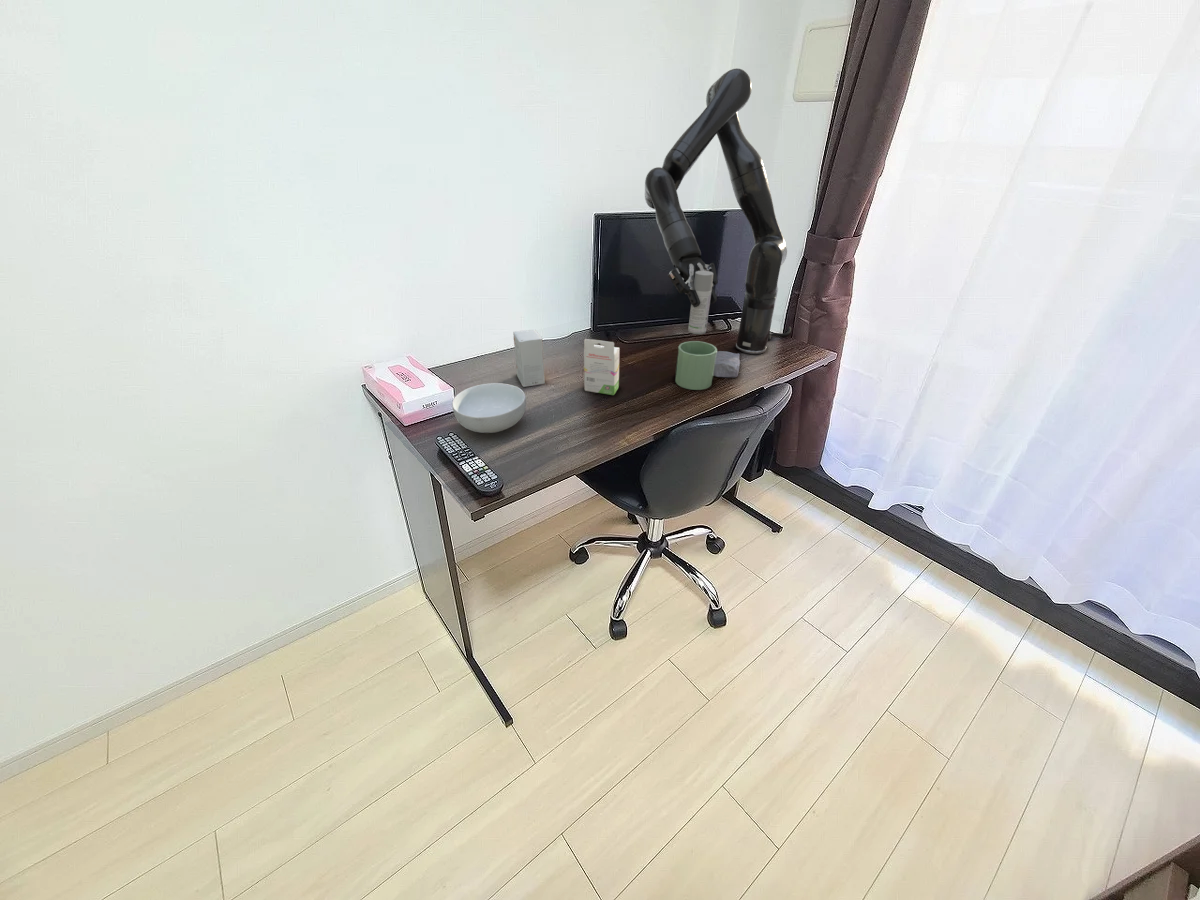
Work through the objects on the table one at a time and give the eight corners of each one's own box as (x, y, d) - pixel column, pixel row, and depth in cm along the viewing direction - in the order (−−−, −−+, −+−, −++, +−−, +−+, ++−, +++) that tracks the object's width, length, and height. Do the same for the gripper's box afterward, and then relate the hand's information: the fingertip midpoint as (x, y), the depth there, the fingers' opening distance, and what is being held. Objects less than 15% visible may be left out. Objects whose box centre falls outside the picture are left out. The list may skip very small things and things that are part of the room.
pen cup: (689, 371, 145) (693, 338, 140) (719, 382, 139) (724, 348, 134) (667, 381, 139) (670, 347, 134) (697, 393, 133) (702, 358, 128)
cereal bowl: (482, 402, 128) (479, 377, 124) (540, 415, 123) (538, 389, 119) (441, 434, 115) (436, 407, 111) (503, 450, 109) (500, 422, 106)
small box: (545, 384, 137) (542, 339, 130) (522, 387, 135) (518, 341, 128) (538, 372, 143) (535, 328, 136) (516, 375, 142) (512, 331, 134)
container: (697, 326, 134) (704, 269, 126) (709, 332, 131) (717, 273, 123) (684, 330, 132) (690, 272, 124) (696, 335, 129) (704, 276, 121)
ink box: (619, 388, 136) (621, 336, 127) (613, 396, 132) (615, 342, 123) (589, 383, 138) (589, 331, 130) (583, 390, 134) (582, 338, 126)
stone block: (704, 381, 144) (740, 378, 141) (703, 365, 141) (740, 362, 139) (706, 366, 153) (739, 363, 151) (705, 351, 151) (739, 347, 148)
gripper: (695, 250, 134) (718, 307, 132) (651, 256, 128) (675, 315, 126) (710, 232, 127) (735, 292, 126) (665, 237, 121) (691, 300, 119)
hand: (705, 303), depth 126 cm, fingers closed on container, 4 cm apart
